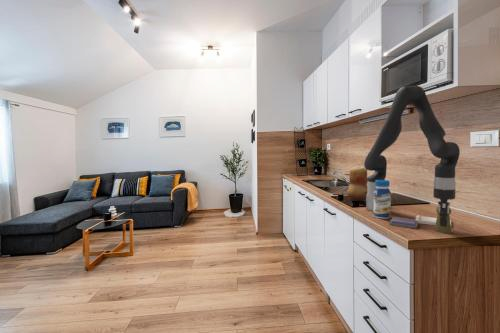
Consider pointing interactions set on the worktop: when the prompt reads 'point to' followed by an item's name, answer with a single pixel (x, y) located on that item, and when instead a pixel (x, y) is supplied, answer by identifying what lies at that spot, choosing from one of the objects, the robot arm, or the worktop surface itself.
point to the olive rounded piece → (441, 228)
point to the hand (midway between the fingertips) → (443, 223)
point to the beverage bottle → (382, 199)
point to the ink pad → (404, 222)
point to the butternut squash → (357, 183)
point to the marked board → (426, 220)
